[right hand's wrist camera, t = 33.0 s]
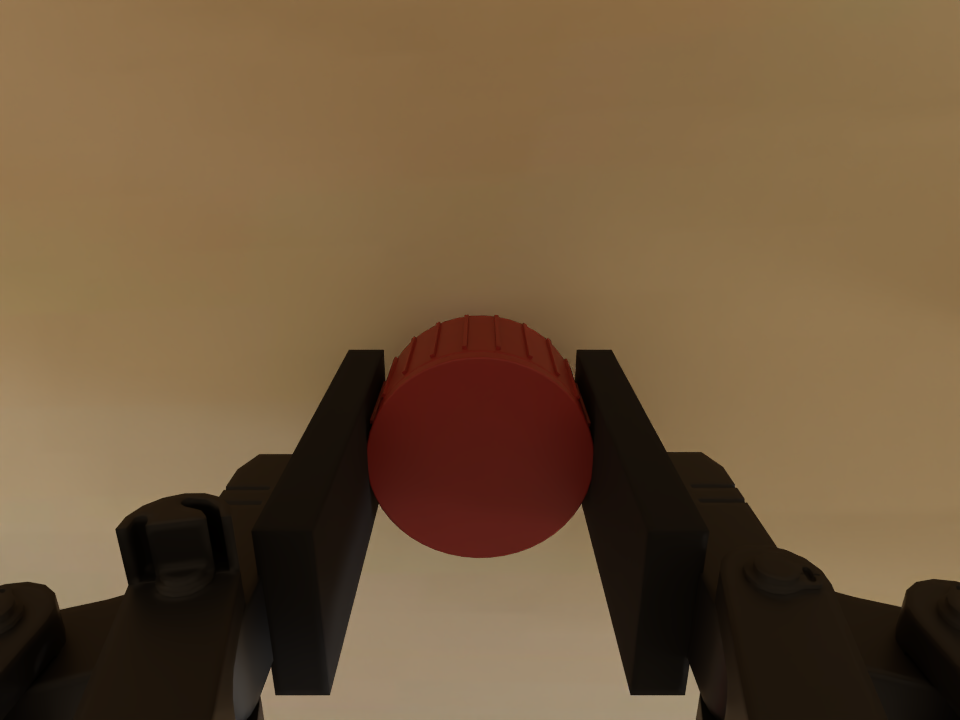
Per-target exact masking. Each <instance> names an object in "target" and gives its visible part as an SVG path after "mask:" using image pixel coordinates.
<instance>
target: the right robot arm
mask: <svg viewBox="0 0 960 720" xmlns="http://www.w3.org/2000/svg"><path fill="white" fill-rule="evenodd" d="M384 381H385V364H384V350H349V351H348V353H347V354H346V356H345V358H344V360H343V362H342V364H341V366H340V367H339V369H338V371H337V373H336V375H335V377H334V379H333V380H332V382H331V384H330V386H329V388H328V390H327V391H326V393H325V395H324V397H323V399H322V401H321V403H320V404H319V406H318V408H317V410H316V412H315V414H314V416H313V417H312V419H311V421H310V423H309V425H308V427H307V429H306V430H305V432H304V434H303V436H302V438H301V440H300V441H299V443H298V445H297V447H296V449H295V451H294V453H293V454H259V455H258V456H256V457H255V458H253V459H252V460H250V461H249V462H247V463H246V464H245V465H243V466H242V467H240V468H239V469H238V470H237V471H236V473H235V474H234V476H233V477H232V479H231V480H230V482H229V483H228V484H227V486H226V490H223V492H222V493H221V495H220V496H219V497H217V496H214V495H210V494H206V493H185V494H180V495H175V496H170V497H165V498H162V499H159V500H157V501H154V502H151V503H149V504H146V505H144V506H142V507H140V508H139V509H137V510H136V511H134V512H133V513H131V514H129V515H128V516H126V517H125V518H124V520H123V521H122V522H121V523H120V524H119V526H118V527H117V528H116V529H115V530H116V534H117V538H118V543H119V547H120V551H121V555H122V560H123V564H124V568H125V572H126V576H127V581H128V588H127V590H126V593H125V595H122V596H119V597H115V598H111V599H108V600H104V601H99V602H94V603H89V604H85V605H80V606H75V607H71V608H66V609H61V610H60V609H59V606H58V602H57V599H56V595H55V593H54V592H53V591H52V590H51V589H49V588H48V587H47V586H46V585H43V584H37V583H32V582H21V583H12V584H4V585H1V586H0V720H264V717H263V710H262V703H261V697H260V695H261V692H262V690H263V687H264V684H265V682H266V679H267V676H268V673H269V671H270V668H272V675H273V682H274V688H275V695H330V692H331V688H332V685H333V681H334V677H335V673H336V669H337V665H338V661H339V657H340V653H341V649H342V645H343V641H344V638H345V634H346V630H347V626H348V622H349V618H350V614H351V610H352V606H353V602H354V598H355V594H356V591H357V587H358V583H359V579H360V575H361V571H362V567H363V563H364V559H365V555H366V551H367V547H368V544H369V540H370V536H371V532H372V528H373V524H374V520H375V516H376V512H377V508H378V504H379V503H378V501H377V499H376V498H375V495H374V493H373V490H372V488H371V486H370V482H369V471H368V457H367V440H368V435H369V432H370V429H371V426H372V424H370V419H371V416H372V413H373V410H374V407H375V405H376V402H377V399H378V396H379V394H380V391H381V388H382V385H383V382H384ZM575 383H577V385H578V388H579V391H580V394H581V397H582V399H583V402H584V405H585V408H586V411H587V414H588V417H589V419H590V422H591V424H590V427H589V428H590V432H591V435H592V439H593V465H592V478H591V483H590V486H589V489H588V492H587V494H586V496H585V498H584V500H583V502H582V507H583V511H584V515H585V518H586V522H587V526H588V530H589V534H590V538H591V542H592V546H593V550H594V554H595V558H596V561H597V565H598V569H599V573H600V577H601V581H602V585H603V589H604V593H605V597H606V601H607V605H608V608H609V612H610V616H611V620H612V624H613V628H614V632H615V636H616V640H617V644H618V648H619V652H620V655H621V659H622V663H623V667H624V671H625V675H626V679H627V683H628V687H629V691H630V695H685V691H686V685H687V678H688V671H689V664H690V666H691V669H692V672H693V674H694V677H695V680H696V682H697V685H698V688H699V690H700V697H699V703H698V710H697V716H696V720H960V582H956V581H948V580H938V579H931V580H925V581H920V582H916V583H915V584H913V585H912V586H911V587H910V588H909V589H907V590H906V594H905V597H904V601H903V604H902V607H898V606H894V605H889V604H884V603H879V602H875V601H870V600H865V599H861V598H856V597H852V596H848V595H845V594H841V593H838V592H835V591H834V589H833V587H832V584H831V583H830V582H829V580H828V579H827V577H826V576H825V575H824V573H823V572H822V571H821V570H820V569H819V568H817V567H816V566H815V565H813V564H812V563H811V562H809V561H808V560H807V559H805V558H803V557H801V556H798V555H796V554H794V553H792V552H789V551H787V550H784V549H780V548H777V546H776V545H775V543H774V542H773V540H772V539H771V537H770V536H769V534H768V533H767V532H766V530H765V529H764V527H763V526H762V524H761V523H760V521H759V520H758V518H757V517H756V515H755V514H754V512H753V511H752V509H751V508H750V506H749V505H748V503H745V501H744V497H743V496H742V494H741V493H740V491H739V490H738V489H737V488H735V484H734V483H733V481H732V480H731V478H730V477H729V475H728V474H727V472H726V471H725V469H724V468H723V467H722V466H721V465H719V464H718V463H716V462H715V461H713V460H712V459H710V458H709V457H708V456H706V455H705V454H703V453H702V452H666V450H665V448H664V446H663V444H662V442H661V441H660V439H659V437H658V435H657V433H656V431H655V429H654V428H653V426H652V424H651V422H650V420H649V418H648V417H647V415H646V413H645V411H644V409H643V407H642V405H641V404H640V402H639V400H638V398H637V396H636V394H635V392H634V391H633V389H632V387H631V385H630V383H629V381H628V380H627V378H626V376H625V374H624V372H623V370H622V368H621V367H620V365H619V363H618V361H617V359H616V357H615V355H614V354H613V352H612V350H577V354H576V372H575Z"/></svg>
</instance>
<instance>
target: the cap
mask: <svg viewBox="0 0 960 720" xmlns="http://www.w3.org/2000/svg"><path fill="white" fill-rule="evenodd" d="M370 424H372V426H371V429H370V432H369V435H368V440H367V457H368V471H369V482H370V486H371V488H372V490H373V493H374V495H375V498H376V499H377V501H378V503H379V504H380V506H381V508H382V509H383V511H384V512H385V513H386V514H387V516H388V517H389V518H390V520H391V521H392V522H393V523H394V524H395V525H397V526H398V527H399V528H400V529H401V530H402V531H403V532H405V533H406V534H407V535H409V536H410V537H411V538H413V539H415V540H416V541H418V542H420V543H421V544H423V545H426V546H428V547H430V548H432V549H435V550H437V551H441V552H444V553H447V554H451V555H456V556H461V557H472V558H491V557H498V556H505V555H509V554H513V553H517V552H520V551H523V550H526V549H528V548H531V547H533V546H535V545H537V544H539V543H541V542H543V541H544V540H546V539H547V538H549V537H550V536H552V535H553V534H555V533H556V532H557V531H558V530H559V529H561V528H562V527H563V526H564V525H565V524H566V523H567V522H568V521H569V520H570V519H571V518H572V516H573V515H574V514H575V512H576V511H577V510H578V508H579V507H580V505H581V504H582V502H583V500H584V498H585V496H586V494H587V492H588V489H589V486H590V483H591V478H592V465H593V439H592V435H591V432H590V428H589V427H590V424H591V422H590V419H589V417H588V414H587V411H586V408H585V405H584V402H583V399H582V397H581V394H580V391H579V388H578V385H577V383H575V380H574V377H573V374H572V372H571V369H570V366H569V363H568V360H567V359H565V360H564V359H563V357H562V356H561V355H560V353H559V352H558V351H557V350H556V349H555V347H554V346H553V345H552V344H551V340H550V339H549V338H547V339H545V338H544V337H543V336H541V335H540V334H538V333H537V332H536V331H534V330H532V329H530V328H529V327H527V324H525V323H523V324H520V323H517V322H515V321H512V320H509V319H504V318H500V317H499V316H498V315H494V316H469V315H465V317H460V318H456V319H452V320H449V321H445V322H443V323H440V322H438V323H436V326H434V327H432V328H430V329H428V330H427V331H425V332H423V333H422V334H421V335H419V336H418V337H417V338H416V337H415V336H414V337H413V338H412V340H411V343H410V344H409V345H408V346H407V347H406V348H405V349H404V350H403V352H402V353H401V354H400V356H399V357H398V358H397V357H395V358H394V360H393V363H392V366H391V369H390V372H389V375H388V377H387V380H386V381H384V382H383V385H382V388H381V391H380V394H379V396H378V399H377V402H376V405H375V407H374V410H373V413H372V416H371V419H370Z"/></svg>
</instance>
